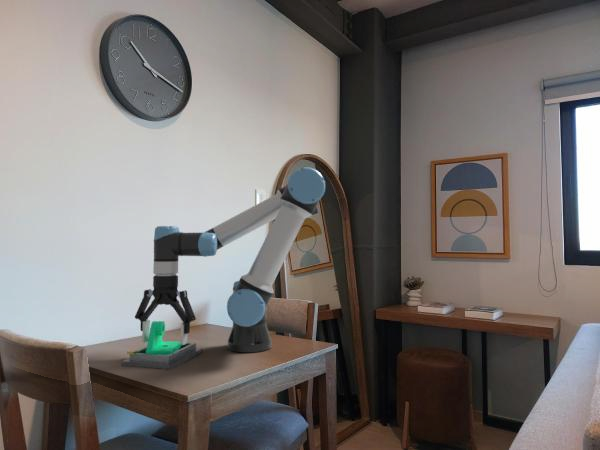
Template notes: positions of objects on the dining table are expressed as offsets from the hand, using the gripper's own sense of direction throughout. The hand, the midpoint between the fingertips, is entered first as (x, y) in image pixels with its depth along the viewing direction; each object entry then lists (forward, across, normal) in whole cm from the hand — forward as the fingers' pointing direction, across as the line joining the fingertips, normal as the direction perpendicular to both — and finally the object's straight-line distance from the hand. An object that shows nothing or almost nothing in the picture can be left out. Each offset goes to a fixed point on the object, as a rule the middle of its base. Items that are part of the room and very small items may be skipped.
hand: (164, 342), depth 135 cm
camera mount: (+4, 0, 0) cm, 4 cm away
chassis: (+5, 0, 0) cm, 5 cm away
